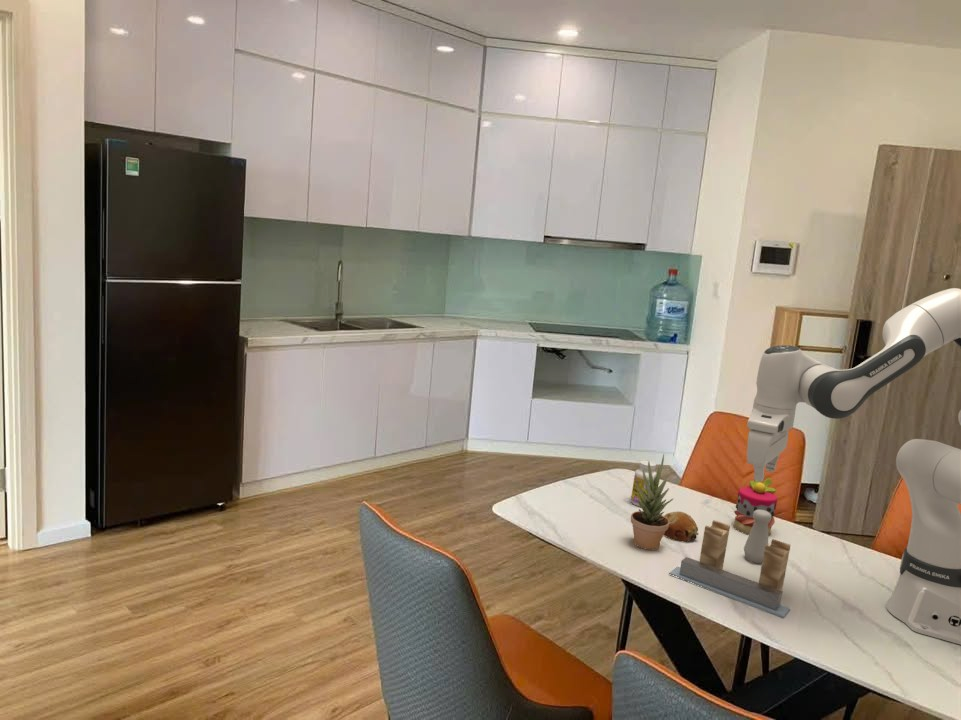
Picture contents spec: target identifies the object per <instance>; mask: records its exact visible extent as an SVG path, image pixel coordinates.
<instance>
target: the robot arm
mask: <svg viewBox="0 0 961 720" xmlns="http://www.w3.org/2000/svg"><path fill="white" fill-rule="evenodd" d="M882 340H883V342H884V345H885V346H884V347H883V348H882V349H881V350H880V351H879V352H876V353H875V354H873V355H871V356H870V357H868V358H867V359H865V360H864V361H863V362H860V364H858V365H856V366H855V367H853V368H848V369H847V368H846V369H837V368H835V367H833V366H830V365H828V364H826V363H824V362H821V361H819V360H817V359H815V358H813V357H811V356H809V355H807V353H805V352H804V351H802V350H801V348H800V347H798V346H797V345H796V346H794V345H782V344H781V345H775V346H771V347H769V348H767V349H765V350H764V352H763V354H762V356H761V358H760V362H759V366H758V369H757V370H758V371H757V376H756V383H755V385H756V389H757V390H756V394H755V397H754V399H753V405H752V410H751V414H750V416H749V418H748V419H747V423H746V428H747V429H749V431H748V435H747V436H748V437H747V447H746V460H747V463H748V464H749V465H753V471H754V473H753V474H754V475H753V481H754V480H755V481H758V482H762V483H763V482H764V481H765V475H766V474H765V470H766V471H767V472H769V473H773V472H775V471H776V468H777V463H778V460H779V459H780V458H779V457H780V454H782V453H783V452H784V451H785V450H786V449H787V446H788V440H789V431H790V430H792V429H793V428H794V425H795V424H794V422H795V415H796V410H797V404H798V403H805V404H806V405H808V406H809V407H812V408H814V409H815V410H816V411H817V412H818V413H819V414H821V415H822V416H824V417H826V418H829V419H844V418H847V417H849V416H851V415H853V414H854V413H856V411H858V409H860V407H861V406H862V405H863V404H864V403H865V402H866V400H868V399H869V398H870V397H871V396H872V395H873V394H874V393H875V392H877V391H879V390H880V389H882V388H883V387H884V386H886V385H888V384H889V383H891V382H892V381H893V380H895V379H897V378H898V377H901V376H902V375H903V374H905V373H906V372H908V371H909V370H910V369H913V368H914V366H916V365H917V364H918V363H920V361H921V360H922V359H924V357H926V356H928V355H929V354H931V353H933V352H934V351H936V350H938V349H940V348H942V347H944V346H946V345H947V344H949V343H950V342H952V341H953V342H954V343H955V344H956V345H957V346H958V348H960V349H961V288H957V287H956V288H955V287H952V288H948V289H943V290H940V291H938V292H935V293H933V294H930V295H927V296H925V297H923V298H921V299H919V300H916V301H915V302H913V303H910V304H908V305H907V306H905V307H904V308H902V309H900V310H899V311H897V312H895V313H894V314H893V315H892V316H890V317H889V318H888V319H886V321H885V323H884V324H883V328H882ZM957 417H958V418H957V419H958V423H959V425H960V426H961V409H960V410H959V411H958V415H957ZM899 448H900V449H899V450H898V452H897V455H896V458H895V466H896V469H897V471H898V473H899V474H900V476H901V477H902V479H903V481H904V483H905V485H906V487H907V491H908V495H909V499H910V504H911V512H912V514H911V525H910V531H909V536H908V543H907V546H906V547H905V549H904V551H903V553H902V556H901V560H900V565H899V576H898V580H897V582H896V585H895V587H894V588H893V589H894V590H893V592H892V594H891V596H890V597H889V599H888V600H887V602H886V604H885V607H886V609H887V611H888V613H890V614H891V615H892V616H894V617H895V618H897V619H898V620H900V621H901V622H903V623H904V624H906V626H907V627H909V629H910V630H912V631H913V632H916V633H917V634H922V635H925V636H929V637H932V638H936V639H939V640H943V641H946V642H950V643H953V644H956V645H957V644H958V645H960V646H961V511H960V509H959V505H961V448H957V447H955V446H952V445H949V444H945V443H943V442H940V441H938V440H930V439H923V438H912V439H910V440H908V441H906V442H905V443H904V444H903V445H902V446H900V447H899Z"/></svg>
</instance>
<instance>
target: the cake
mask: <svg viewBox="0 0 961 720" xmlns="http://www.w3.org/2000/svg"><path fill="white" fill-rule="evenodd" d="M772 483H773V480H772V479H771V478H770V477H768V478H766V479H764V480H763V481H762V482H758V481H755V480H754V479H753V480H749V483H748V484H749V486H742V487H741V488H739V489H738V493H737V504H735V508H736V510H734V511H733V513H734V514H735V517H734V521H733V527H734V529H735V528H736V529H735V530H737V531H738V530H739V531H738V532H740V531H741V532H740V533H742V532H743V533H742V534H746V535H748V534H750V531H751V529H752V527H753V524H754V522H755V520H754V519H753V513H754V511H755V510H765V511H767V512H769V513H770V514H771V521H770V522H769V523H768V535H769V536H771V532H772V528H773V526H774V525H775V523H776V522H775V517H774V516H775V512H776V509H777V505H778V496H777V494H775V493H776V492H777V491H776V488H774V487H770V485H771V484H772Z"/></svg>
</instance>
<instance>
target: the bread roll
mask: <svg viewBox="0 0 961 720" xmlns="http://www.w3.org/2000/svg"><path fill="white" fill-rule="evenodd" d="M663 516H664V517H666V518H667V519H668V520H669V527H668V529H667V530H666V531H665V533H664V535H665V537H666V536H667V537H666V538H667V539H671V540H674V541H677V542H682V541H683V542H684V543H685V542H686V543H687V541H688V542H693V540H694V541H695V539H697V536H699V533H698V531H699V527H698V526H697V523H696V522H695V520H694V518H693V517H692V516H691V515H689V514H688V513H687V512H684V511H672V512H668V513H666V514H665V515H663ZM664 535H663V536H664Z"/></svg>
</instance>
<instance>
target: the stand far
mask: <svg viewBox="0 0 961 720" xmlns="http://www.w3.org/2000/svg"><path fill="white" fill-rule="evenodd" d="M730 527H731V525H729V524H728V523H723V522H721V521H718V520H712V523H711V525H705V526H704V531H703V536H702V544H701V550H700V555H699V560H698V561H699V562H702V563H705V564H708V565H711V566H713V567H716V568H719V569H722V570H724V563H725V558H726V551H727V546H728V540H729V533H730V530H731V529H730Z"/></svg>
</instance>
